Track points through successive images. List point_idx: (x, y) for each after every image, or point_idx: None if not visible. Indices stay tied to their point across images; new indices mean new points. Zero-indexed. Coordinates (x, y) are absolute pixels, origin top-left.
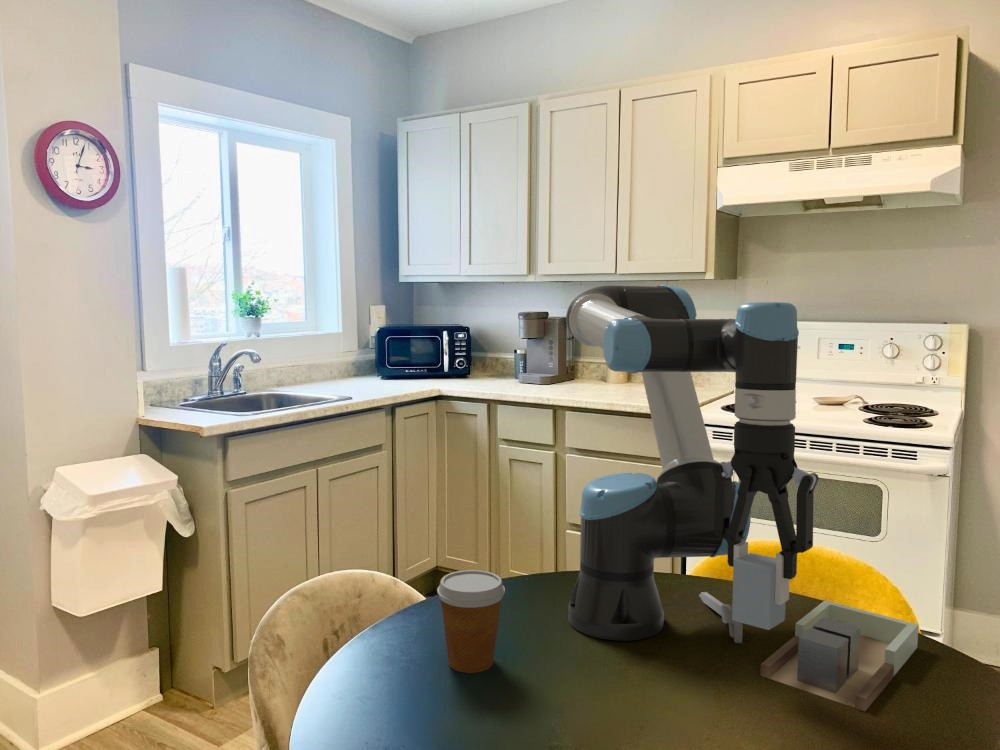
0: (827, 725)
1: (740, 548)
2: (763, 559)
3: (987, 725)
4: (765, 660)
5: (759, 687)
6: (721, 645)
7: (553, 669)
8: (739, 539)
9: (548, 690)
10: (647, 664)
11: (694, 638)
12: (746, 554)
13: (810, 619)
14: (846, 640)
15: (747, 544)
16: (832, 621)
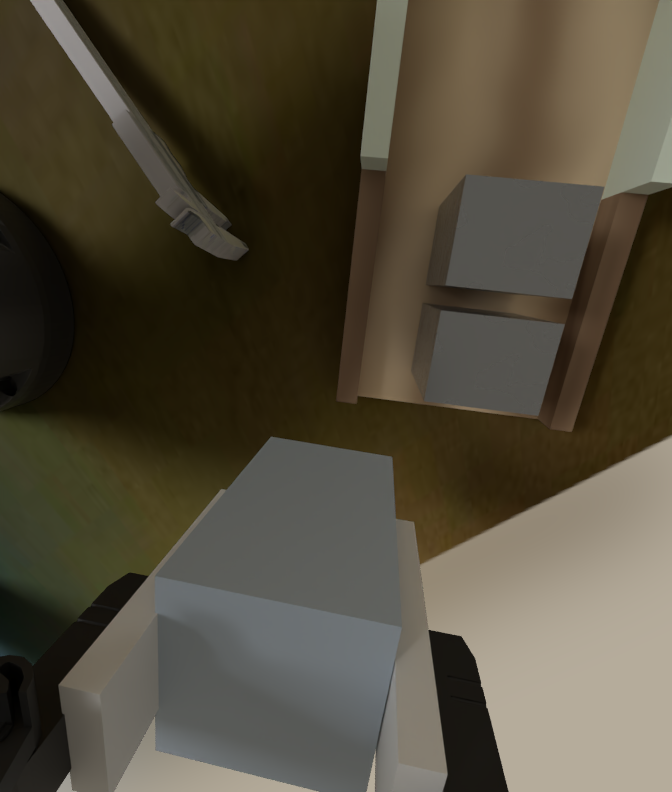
0: (488, 480)
1: (121, 761)
2: (275, 674)
3: None
4: (339, 377)
5: (346, 415)
6: (208, 267)
7: (47, 545)
8: (42, 765)
9: (89, 599)
10: (142, 447)
11: (143, 270)
12: (157, 633)
13: (395, 76)
14: (559, 341)
15: (110, 683)
16: (502, 199)
